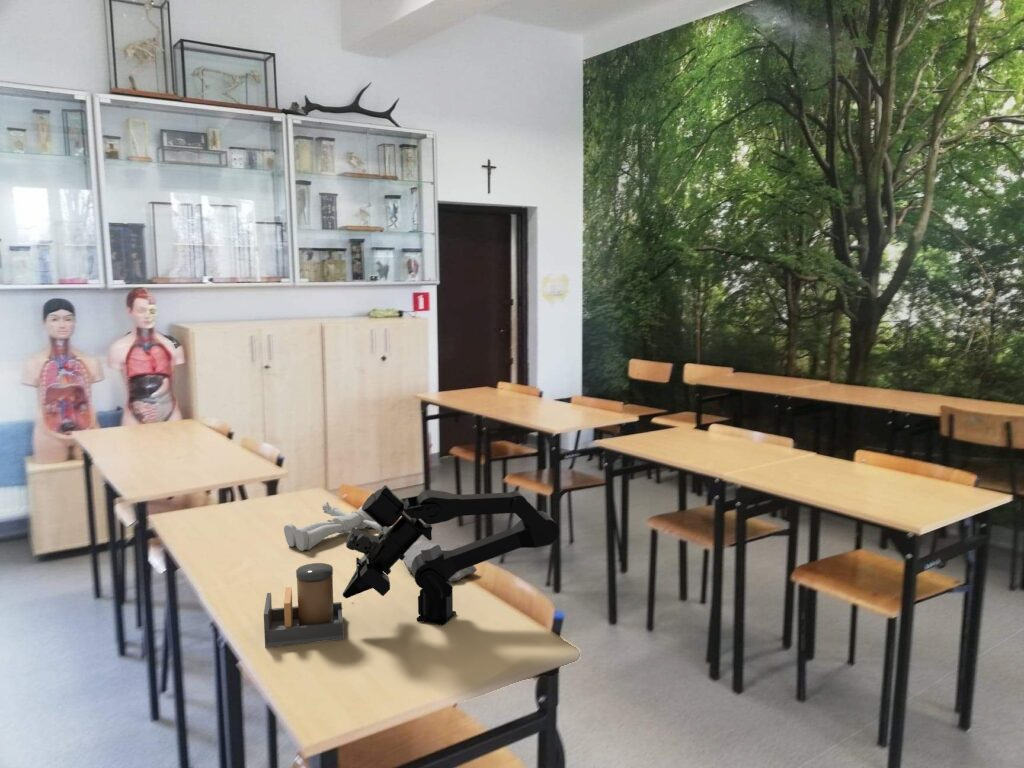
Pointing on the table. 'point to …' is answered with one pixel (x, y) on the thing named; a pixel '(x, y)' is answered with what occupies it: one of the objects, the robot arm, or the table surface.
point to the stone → (426, 545)
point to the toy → (329, 527)
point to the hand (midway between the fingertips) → (344, 596)
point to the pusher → (288, 607)
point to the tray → (298, 627)
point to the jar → (315, 594)
